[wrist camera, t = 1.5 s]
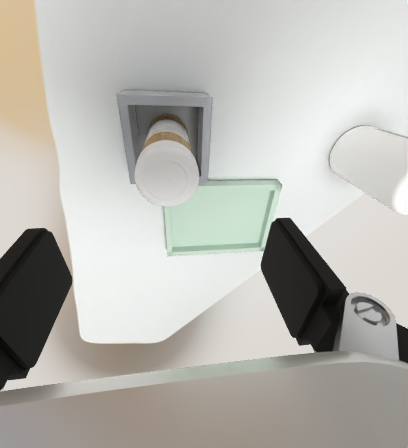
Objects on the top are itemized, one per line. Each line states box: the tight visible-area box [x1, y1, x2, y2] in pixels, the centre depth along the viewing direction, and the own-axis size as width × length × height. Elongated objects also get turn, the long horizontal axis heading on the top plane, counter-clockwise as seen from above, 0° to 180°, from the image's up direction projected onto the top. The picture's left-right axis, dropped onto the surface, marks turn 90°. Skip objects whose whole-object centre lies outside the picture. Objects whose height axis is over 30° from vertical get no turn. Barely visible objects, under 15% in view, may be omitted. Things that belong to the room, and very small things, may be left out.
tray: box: [164, 179, 282, 256], centre depth 33 cm, size 12×16×2 cm
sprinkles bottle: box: [134, 114, 199, 207], centre depth 21 cm, size 5×5×14 cm
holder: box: [117, 90, 212, 184], centre depth 24 cm, size 9×9×4 cm
